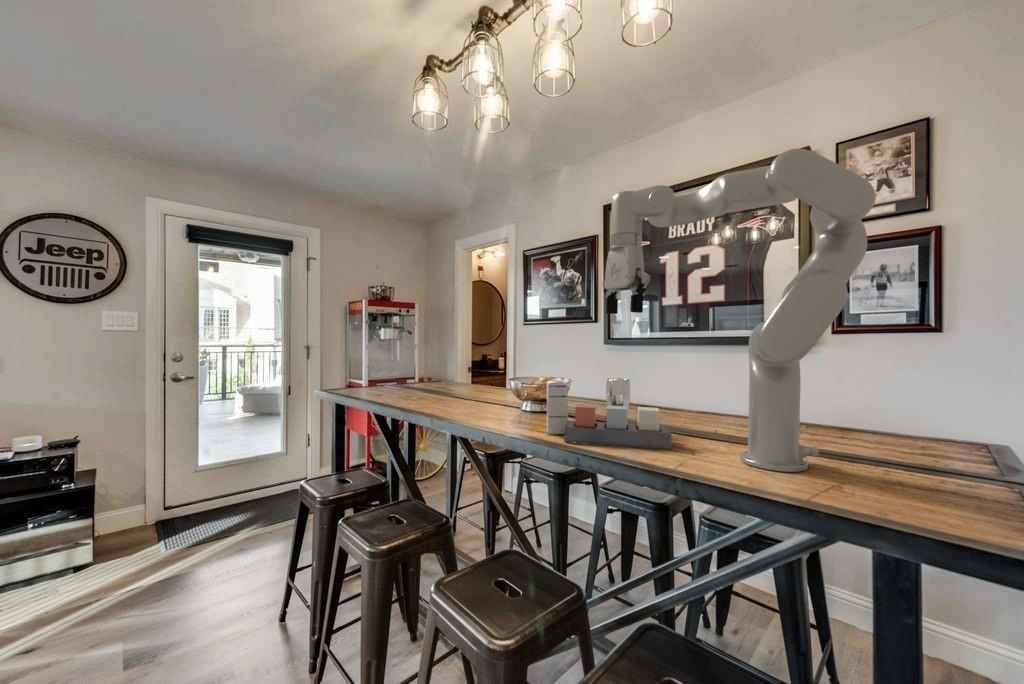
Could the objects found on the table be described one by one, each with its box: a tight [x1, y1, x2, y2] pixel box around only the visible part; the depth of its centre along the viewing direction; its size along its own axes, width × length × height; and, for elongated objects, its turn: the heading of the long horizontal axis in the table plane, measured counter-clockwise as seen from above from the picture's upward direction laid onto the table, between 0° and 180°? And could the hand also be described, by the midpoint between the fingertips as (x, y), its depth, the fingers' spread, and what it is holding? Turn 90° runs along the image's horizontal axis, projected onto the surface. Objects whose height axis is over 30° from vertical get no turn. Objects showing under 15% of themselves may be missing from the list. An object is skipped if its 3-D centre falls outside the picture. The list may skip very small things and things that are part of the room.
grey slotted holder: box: [563, 420, 672, 451], centre depth 112 cm, size 9×26×4 cm, turn 77°
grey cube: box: [605, 405, 628, 429], centre depth 112 cm, size 5×5×5 cm
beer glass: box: [605, 377, 631, 415], centre depth 126 cm, size 7×7×15 cm
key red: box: [574, 403, 597, 427], centre depth 113 cm, size 5×5×5 cm
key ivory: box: [637, 406, 661, 431], centre depth 110 cm, size 5×5×5 cm
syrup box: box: [546, 380, 569, 435], centre depth 122 cm, size 6×6×14 cm
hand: (623, 313), depth 106 cm, fingers open, 9 cm apart
